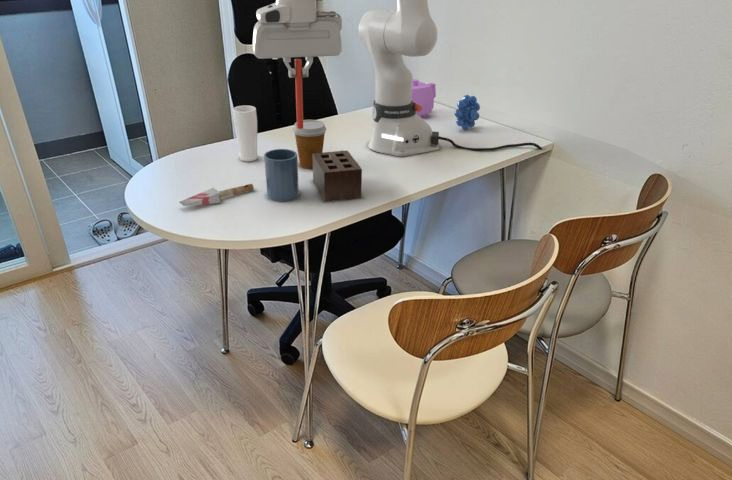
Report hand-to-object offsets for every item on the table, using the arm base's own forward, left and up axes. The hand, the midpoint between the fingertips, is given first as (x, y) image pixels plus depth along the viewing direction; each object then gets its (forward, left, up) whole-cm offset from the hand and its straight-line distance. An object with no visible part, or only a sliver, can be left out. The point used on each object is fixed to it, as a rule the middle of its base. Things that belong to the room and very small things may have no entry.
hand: (298, 76), depth 130 cm
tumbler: (+5, 0, -30) cm, 30 cm away
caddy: (-9, 0, -30) cm, 31 cm away
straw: (0, 0, -12) cm, 12 cm away
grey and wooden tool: (+22, -1, -30) cm, 37 cm away
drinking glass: (+11, -28, -30) cm, 42 cm away
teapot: (-53, -58, -30) cm, 84 cm away
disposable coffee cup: (-6, -19, -30) cm, 36 cm away
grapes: (-65, -37, -30) cm, 81 cm away
